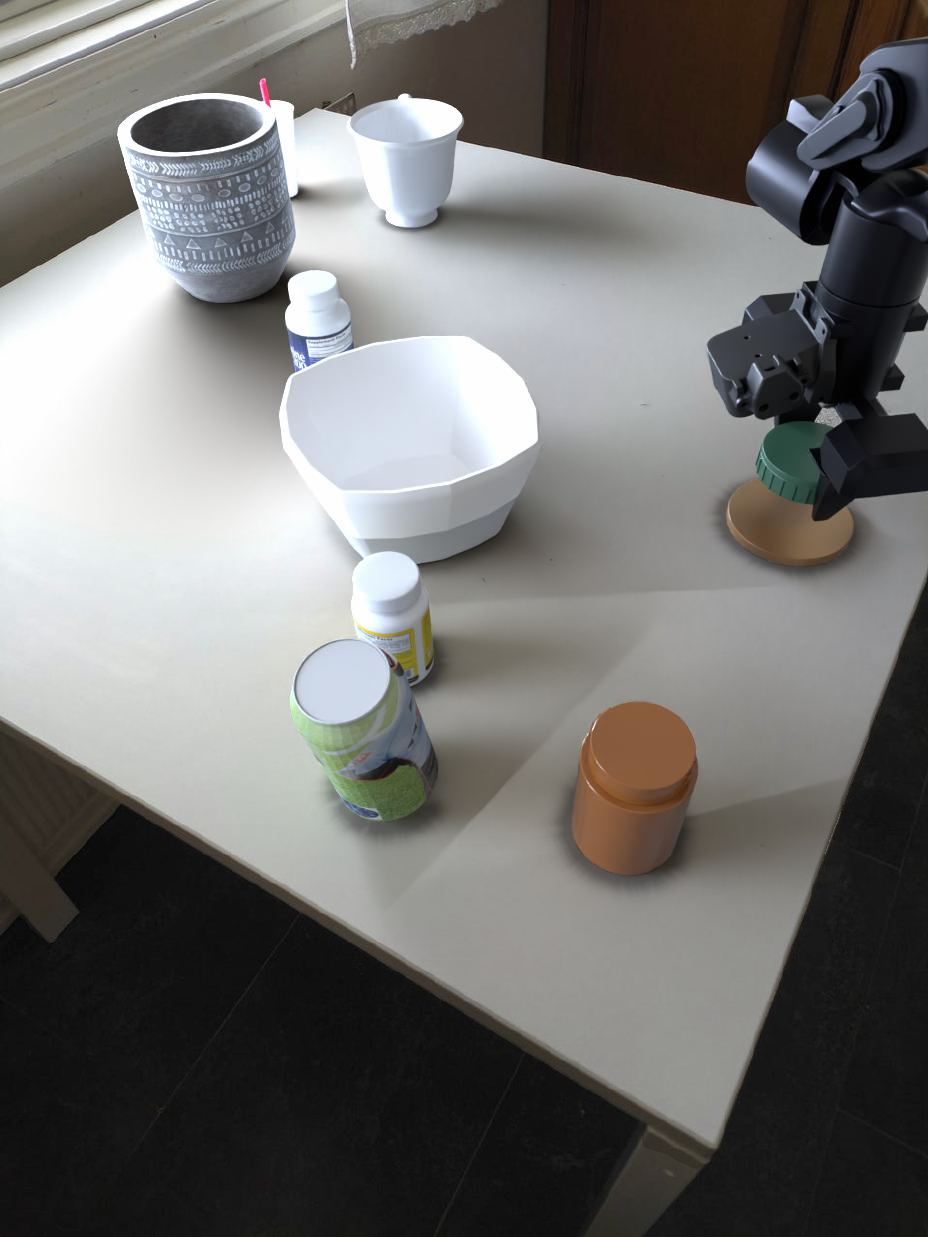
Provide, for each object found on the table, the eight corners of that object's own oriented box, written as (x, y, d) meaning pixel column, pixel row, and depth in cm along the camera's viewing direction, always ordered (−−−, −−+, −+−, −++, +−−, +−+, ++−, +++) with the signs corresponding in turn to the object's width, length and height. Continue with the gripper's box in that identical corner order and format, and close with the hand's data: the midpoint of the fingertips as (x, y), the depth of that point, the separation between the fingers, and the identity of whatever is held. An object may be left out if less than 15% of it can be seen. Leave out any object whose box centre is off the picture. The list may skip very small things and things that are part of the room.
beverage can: (460, 777, 54) (453, 651, 44) (373, 866, 50) (347, 749, 41) (384, 720, 56) (363, 591, 47) (297, 801, 53) (256, 678, 44)
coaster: (857, 499, 69) (861, 491, 68) (842, 580, 63) (845, 572, 63) (738, 472, 71) (741, 464, 70) (714, 547, 66) (716, 539, 65)
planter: (223, 332, 86) (182, 170, 74) (134, 283, 92) (84, 128, 81) (331, 272, 93) (309, 116, 81) (241, 231, 99) (209, 81, 88)
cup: (267, 206, 103) (246, 91, 94) (254, 187, 106) (232, 74, 97) (312, 196, 104) (295, 82, 95) (298, 178, 107) (280, 66, 98)
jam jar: (688, 799, 52) (716, 715, 46) (662, 891, 49) (688, 814, 42) (588, 766, 54) (602, 680, 47) (556, 853, 50) (566, 772, 44)
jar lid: (746, 491, 62) (753, 469, 61) (764, 434, 66) (771, 411, 65) (848, 515, 60) (858, 493, 59) (860, 455, 64) (869, 432, 63)
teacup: (461, 178, 106) (459, 85, 99) (468, 239, 97) (467, 140, 89) (359, 183, 106) (349, 90, 99) (356, 244, 96) (344, 146, 89)
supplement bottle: (401, 623, 62) (390, 534, 55) (449, 661, 59) (444, 573, 53) (347, 662, 59) (329, 575, 53) (394, 704, 57) (382, 617, 51)
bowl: (483, 416, 76) (482, 315, 69) (571, 555, 65) (580, 452, 58) (277, 467, 73) (254, 366, 65) (334, 623, 62) (313, 522, 55)
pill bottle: (294, 372, 81) (275, 270, 74) (353, 363, 82) (339, 261, 75) (302, 407, 78) (283, 304, 70) (364, 397, 79) (350, 293, 71)
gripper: (688, 219, 58) (655, 418, 70) (796, 388, 46) (733, 595, 58) (855, 205, 59) (794, 404, 71) (1004, 367, 47) (900, 575, 58)
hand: (800, 486), depth 64 cm, fingers closed on jar lid, 6 cm apart
